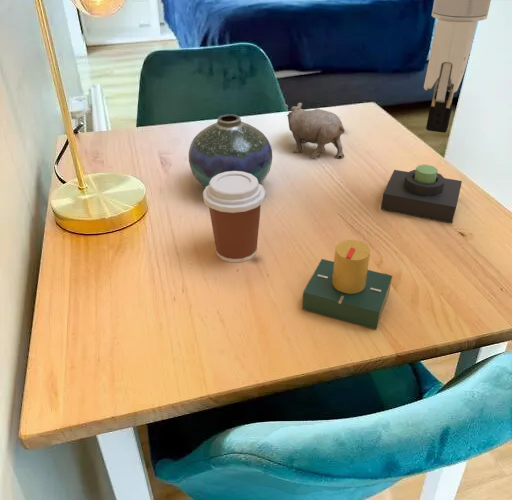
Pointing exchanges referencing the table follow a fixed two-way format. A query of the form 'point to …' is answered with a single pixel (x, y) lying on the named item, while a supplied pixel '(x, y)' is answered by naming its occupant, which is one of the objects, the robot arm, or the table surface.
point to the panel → (347, 297)
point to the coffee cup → (235, 214)
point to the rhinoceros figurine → (315, 129)
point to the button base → (421, 196)
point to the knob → (350, 266)
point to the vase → (229, 150)
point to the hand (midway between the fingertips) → (436, 129)
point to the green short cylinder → (425, 174)
